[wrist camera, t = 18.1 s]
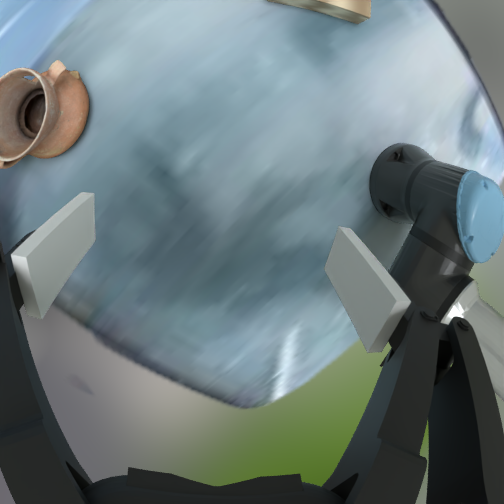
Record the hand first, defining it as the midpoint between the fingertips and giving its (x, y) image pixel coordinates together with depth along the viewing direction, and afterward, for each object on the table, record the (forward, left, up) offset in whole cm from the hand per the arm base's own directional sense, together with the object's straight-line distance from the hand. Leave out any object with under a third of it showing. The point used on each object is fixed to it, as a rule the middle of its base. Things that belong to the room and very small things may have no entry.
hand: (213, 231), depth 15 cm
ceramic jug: (+26, -8, -32) cm, 42 cm away
